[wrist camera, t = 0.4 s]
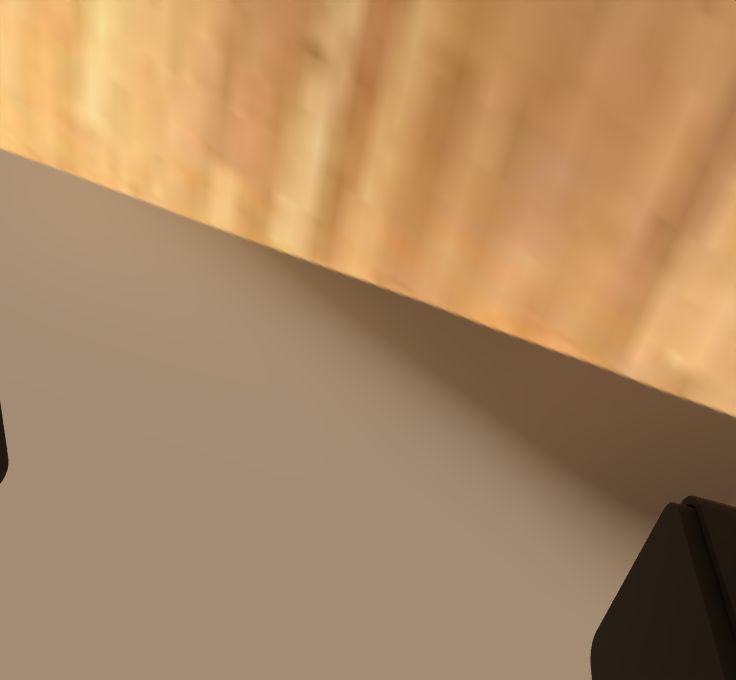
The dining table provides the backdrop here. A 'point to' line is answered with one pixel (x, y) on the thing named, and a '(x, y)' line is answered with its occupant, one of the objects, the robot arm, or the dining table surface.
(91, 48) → the dining table surface
